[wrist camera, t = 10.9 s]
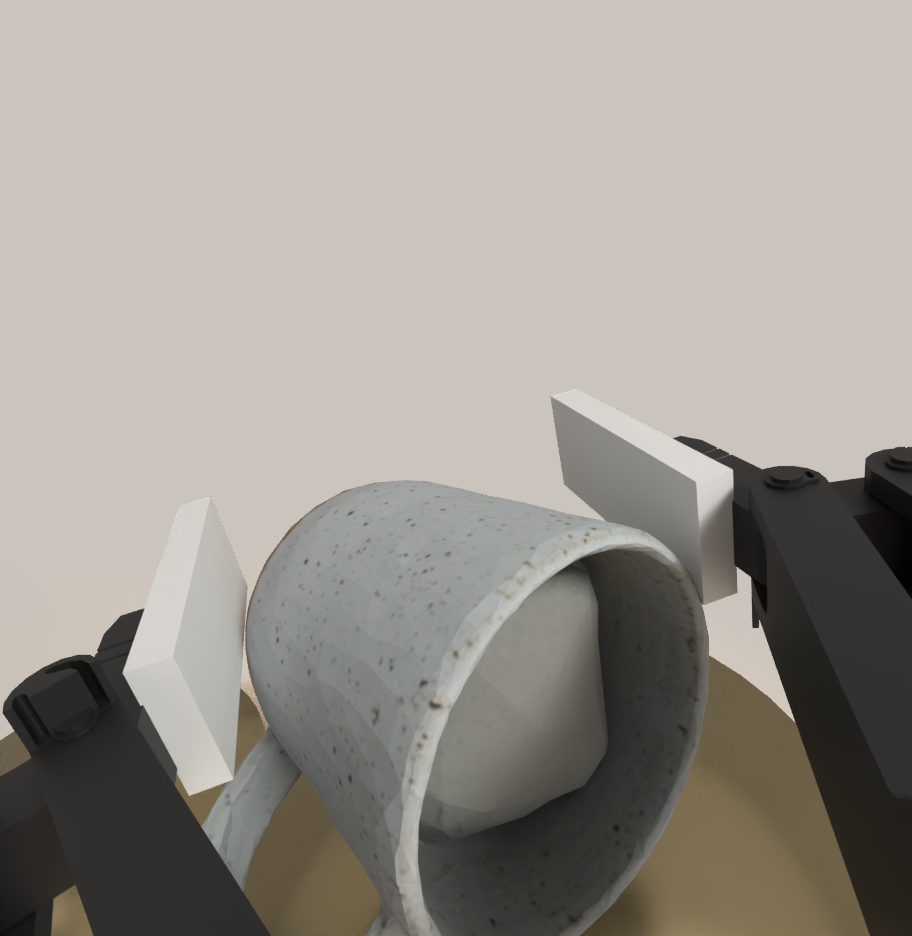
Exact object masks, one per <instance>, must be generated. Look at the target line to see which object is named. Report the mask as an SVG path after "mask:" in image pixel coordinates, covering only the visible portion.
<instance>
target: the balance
mask: <svg viewBox="0 0 912 936" xmlns="http://www.w3.org/2000/svg"><path fill="white" fill-rule="evenodd" d="M265 733H266V729H265V726H264V723H263V721H262V719H261V717H260V714H259V712H258V710H257V708H256V706H255V705H254V703H253V702H252V700H251V699H250V697H249V696H248V695H247V694H246V693H245V692H244V691H243V690H242V689H241V688H240V698H239V712H238V726H237V740H236V754H235V768H234V773H235V771H236V770H237V768H238V767H239V765H240V764H241V762H242V761H243V760H244V758H245V757H246V756H247V754H248V753H249V752H250V750H251V749H252V748H253V747H254V746H255V745H256V743H257V742H258V741H259V740H260V739H261V737H262V736H263V735H264V734H265ZM29 759H31V756H30V753H29V752H28V750H27V749H26V747H25V746H24V744H23V743H22V741H21V740H20V738H19V737H18V735H17V734H16V732H15V731H14V732H13V733H11V734H10V735H8V736H7V737H5V738H4V739H2V740H1V741H0V776H1V775H3V774H5V773H7V772H9V771H11V770H12V769H14V768H16V767H18V766H19V765H21V764H23V763H24V762H26V761H28V760H29ZM226 783H227V782H225V783H223V784H220V785H217V786H215V787H212V788H209V789H207V790H204V791H201V792H199V793H196V794H193V795H190V796H189V795H188V793H187V791H186V789H185V788H184V786H183V784H182V782H181V780H180V778H179V776H178V775H177V774H176V780H175V786H176V788H177V790H178V791H179V793H180V794H181V796H182V797H183V799H184V800H185V802H186V804H187V805H188V807H189V808H190V810H191V811H192V813H193V814H194V816H195V818H196V819H197V821H198V822H199V824H200V825H201V826H202V824H203V823H204V821H205V820H206V818H207V816H208V814H209V813H210V811H211V809H212V807H213V806H214V804H215V802H216V800H217V798H218V796H219V795H220V793H221V791H222V789H223V787H224V786H225V784H226ZM243 893H244V894H245V896H246V897H247V899H248V900H249V902H250V903H251V905H252V907H253V908H254V910H255V911H256V913H257V914H258V916H259V918H260V919H261V921H262V922H263V924H264V925H265V927H266V928H267V930H268V932H269V933H270V935H271V936H364V935H365V934H366V933H367V932H368V931H369V929H370V927H371V925H372V924H373V922H374V920H375V918H376V916H377V915H378V912H379V909H380V906H381V900H380V895H379V893H378V891H377V890H376V888H375V886H374V885H373V883H372V881H371V880H370V878H369V876H368V875H367V873H366V871H365V870H364V868H363V866H362V865H361V863H360V861H359V860H358V858H357V857H356V855H355V854H354V853H353V851H352V850H351V848H350V847H349V845H348V844H347V842H346V841H345V839H344V838H343V836H342V835H341V833H340V832H339V830H338V829H337V827H336V826H335V824H334V823H333V821H332V820H331V818H330V816H329V815H328V813H327V811H326V809H325V807H324V806H323V804H322V802H321V800H320V798H319V797H318V795H317V793H316V792H315V790H314V789H313V787H312V785H311V784H310V782H309V781H308V779H307V778H306V777H305V775H304V774H303V773H302V774H301V775H300V777H299V778H298V779H297V781H296V782H295V783H294V785H293V786H292V787H291V789H290V790H289V791H288V793H287V795H286V797H285V798H284V799H283V800H282V802H281V803H280V805H279V806H278V808H277V809H276V811H275V812H274V814H273V817H272V819H271V821H270V823H269V825H268V827H267V828H266V830H265V832H264V834H263V835H262V837H261V839H260V841H259V843H258V845H257V848H256V851H255V854H254V857H253V860H252V863H251V866H250V869H249V872H248V875H247V877H246V880H245V885H244V892H243ZM51 936H93V933H92V930H91V927H90V925H89V922H88V919H87V916H86V913H85V910H84V907H83V905H82V902H81V899H80V896H79V893H78V890H77V887H76V885H74V886H72V887H71V888H69V889H68V890H66V891H65V892H63V893H62V894H60V895H59V896H57V897H55V898H54V899H53V915H52V929H51ZM580 936H870V935H869V932H868V929H867V926H866V923H865V920H864V917H863V915H862V912H861V909H860V906H859V903H858V900H857V897H856V894H855V892H854V889H853V886H852V883H851V880H850V877H849V874H848V871H847V869H846V866H845V863H844V860H843V857H842V854H841V851H840V849H839V846H838V843H837V840H836V837H835V834H834V831H833V828H832V826H831V823H830V820H829V817H828V814H827V811H826V808H825V805H824V803H823V800H822V797H821V794H820V791H819V788H818V785H817V782H816V780H815V777H814V774H813V771H812V768H811V765H810V762H809V760H808V757H807V754H806V751H805V748H804V745H803V742H802V739H801V737H800V734H799V731H798V728H797V725H796V723H795V722H794V721H793V720H792V719H791V718H790V717H789V716H788V715H787V714H786V713H785V712H784V711H783V710H782V709H780V708H779V707H778V706H777V705H776V704H775V703H774V702H773V701H772V700H771V699H770V698H769V697H768V696H767V695H765V694H764V693H763V692H761V691H760V690H759V689H757V688H756V687H755V686H754V685H753V684H751V683H750V682H749V681H747V680H746V679H745V678H743V677H742V676H741V675H739V674H738V673H736V672H735V671H733V670H731V669H730V668H728V667H727V666H725V665H723V664H722V663H720V662H719V661H717V660H716V659H714V658H712V657H710V656H709V673H708V697H707V701H706V706H705V712H704V717H703V723H702V735H701V739H700V742H699V745H698V749H697V752H696V755H695V758H694V760H693V763H692V766H691V769H690V772H689V775H688V778H687V781H686V784H685V786H684V788H683V791H682V793H681V795H680V797H679V799H678V801H677V803H676V805H675V808H674V811H673V814H672V817H671V819H670V821H669V823H668V825H667V827H666V829H665V831H664V833H663V834H662V836H661V837H660V839H659V840H658V841H657V843H656V844H655V846H654V847H653V850H652V852H651V854H650V856H649V858H648V859H647V860H646V861H645V862H644V864H643V865H642V866H641V868H640V870H639V871H638V873H637V874H636V876H635V877H634V879H633V880H632V881H631V882H630V883H629V885H628V886H627V887H626V888H625V889H624V891H623V892H622V893H621V894H620V896H619V897H618V898H617V900H616V901H615V902H614V903H613V904H612V905H611V906H610V907H609V908H608V909H607V910H606V911H605V912H604V913H603V914H602V915H601V916H600V917H599V918H598V919H597V920H596V921H595V922H594V923H593V924H592V925H591V926H590V927H589V928H588V929H587V930H586V931H585V932H584V933H583V934H581V935H580Z"/></svg>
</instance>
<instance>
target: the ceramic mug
mask: <svg viewBox="0 0 912 936" xmlns="http://www.w3.org/2000/svg"><path fill="white" fill-rule="evenodd" d="M246 655H247V662H248V669H249V673H250V677H251V681H252V684H253V687H254V690H255V693H256V696H257V698H258V701H259V704H260V706H261V709H262V711H263V714H264V716H265V718H266V721H267V722H268V724H269V727H268V730H267V731H266V733H265V734H264V735H263V736H262V737H261V739H260V740H259V741H258V742H257V743H256V745H255V746H254V747H253V748H252V749H251V750H250V752H249V753H248V754H247V756H246V757H245V758H244V760H243V761H242V762H241V764H240V765H239V767H238V768H237V770H236V771H235V773H234V780H231V781H228V782H227V783H226V784H225V786H224V787H223V789H222V791H221V793H220V795H219V796H218V798H217V800H216V802H215V804H214V806H213V807H212V809H211V811H210V813H209V814H208V816H207V818H206V820H205V821H204V823H203V824H202V826H201V827H202V829H203V830H204V832H205V833H206V835H207V836H208V838H209V839H210V841H211V843H212V844H213V846H214V847H215V849H216V850H217V852H218V854H219V855H220V857H221V858H222V860H223V861H224V863H225V864H226V866H227V868H228V869H229V871H230V872H231V874H232V875H233V877H234V878H235V880H236V882H237V883H238V885H239V886H240V888H241V889H242V891H243V892H244V885H245V880H246V877H247V875H248V872H249V869H250V866H251V863H252V860H253V857H254V854H255V851H256V848H257V845H258V843H259V841H260V839H261V837H262V835H263V834H264V832H265V830H266V828H267V827H268V825H269V823H270V821H271V819H272V817H273V814H274V812H275V811H276V809H277V808H278V806H279V805H280V803H281V802H282V800H283V799H284V798H285V797H286V795H287V793H288V791H289V790H290V789H291V787H292V786H293V785H294V783H295V782H296V781H297V779H298V778H299V777H300V775H301V774H302V773H303V774H304V775H305V777H306V778H307V779H308V781H309V782H310V784H311V785H312V787H313V789H314V790H315V792H316V793H317V795H318V797H319V798H320V800H321V802H322V804H323V806H324V807H325V809H326V811H327V813H328V815H329V816H330V818H331V820H332V821H333V823H334V824H335V826H336V827H337V829H338V830H339V832H340V833H341V835H342V836H343V838H344V839H345V841H346V842H347V844H348V845H349V847H350V848H351V850H352V851H353V853H354V854H355V855H356V857H357V858H358V860H359V861H360V863H361V865H362V866H363V868H364V870H365V871H366V873H367V875H368V876H369V878H370V880H371V881H372V883H373V885H374V886H375V888H376V890H377V891H378V893H379V895H380V900H381V906H380V909H379V912H378V915H377V916H376V918H375V920H374V922H373V924H372V925H371V927H370V929H369V931H368V932H367V933H366V934H365V935H364V936H580V935H581V934H583V933H584V932H585V931H586V930H587V929H588V928H589V927H590V926H591V925H592V924H593V923H594V922H595V921H596V920H597V919H598V918H599V917H600V916H601V915H602V914H603V913H604V912H605V911H606V910H607V909H608V908H609V907H610V906H611V905H612V904H613V903H614V902H615V901H616V900H617V898H618V897H619V896H620V894H621V893H622V892H623V891H624V889H625V888H626V887H627V886H628V885H629V883H630V882H631V881H632V880H633V879H634V877H635V876H636V874H637V873H638V871H639V870H640V868H641V866H642V865H643V864H644V862H645V861H646V860H647V859H648V858H649V856H650V854H651V852H652V850H653V847H654V846H655V844H656V843H657V841H658V840H659V839H660V837H661V836H662V834H663V833H664V831H665V829H666V827H667V825H668V823H669V821H670V819H671V817H672V814H673V811H674V808H675V805H676V803H677V801H678V799H679V797H680V795H681V793H682V791H683V788H684V786H685V784H686V781H687V778H688V775H689V772H690V769H691V766H692V763H693V760H694V758H695V755H696V752H697V749H698V745H699V742H700V739H701V735H702V723H703V717H704V712H705V706H706V701H707V697H708V673H709V636H708V631H707V626H706V621H705V616H704V611H703V608H702V605H701V602H700V598H699V595H698V592H697V588H696V585H695V583H694V581H693V579H692V577H691V575H690V573H689V572H688V570H687V569H686V567H685V566H684V565H683V563H682V562H681V561H680V560H679V559H678V558H677V557H676V555H675V554H674V553H673V552H672V551H670V550H669V549H668V548H667V547H666V546H665V545H664V544H663V543H661V542H660V541H659V540H658V539H656V538H655V537H653V536H652V535H650V534H648V533H647V532H645V531H643V530H640V529H636V528H632V527H628V526H624V525H620V524H616V523H611V522H606V521H601V520H596V519H591V518H586V517H581V516H576V515H571V514H567V513H563V512H559V511H555V510H551V509H547V508H543V507H539V506H534V505H531V504H526V503H522V502H517V501H513V500H508V499H503V498H498V497H493V496H487V495H483V494H479V493H475V492H471V491H467V490H464V489H459V488H454V487H450V486H446V485H441V484H436V483H431V482H425V481H393V482H380V483H373V484H369V485H365V486H361V487H356V488H353V489H349V490H346V491H343V492H341V493H340V494H338V495H336V496H334V497H332V498H330V499H329V500H327V501H325V502H324V503H321V504H320V505H318V506H316V507H315V508H313V509H312V510H311V511H310V512H309V513H308V514H306V515H305V516H304V517H303V518H301V519H300V520H299V521H298V522H297V523H296V524H294V525H293V526H292V527H291V528H290V529H289V530H288V532H287V533H286V534H285V536H284V537H283V539H282V540H281V541H280V543H279V544H278V545H277V547H276V548H275V549H274V551H273V552H272V554H271V555H270V556H269V558H268V559H267V561H266V563H265V565H264V567H263V569H262V571H261V573H260V576H259V578H258V580H257V583H256V585H255V588H254V591H253V593H252V596H251V599H250V601H249V607H248V612H247V621H246Z"/></svg>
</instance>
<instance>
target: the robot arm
mask: <svg viewBox="0 0 912 936" xmlns="http://www.w3.org/2000/svg"><path fill="white" fill-rule="evenodd" d="M551 402H552V408H553V415H554V422H555V428H556V434H557V441H558V447H559V454H560V460H561V466H562V473H563V480H564V485H566V486H567V487H568V488H569V489H570V490H571V491H573V492H574V493H575V494H576V495H577V496H578V497H579V498H581V499H582V500H583V501H584V502H585V503H586V504H588V505H589V506H590V507H591V508H592V509H593V510H595V511H596V512H597V513H598V514H599V515H600V516H601V517H603V518H604V519H605V520H606V521H607V522H611V523H616V524H620V525H624V526H628V527H632V528H636V529H640V530H643V531H645V532H647V533H648V534H650V535H652V536H653V537H655V538H656V539H658V540H659V541H660V542H661V543H663V544H664V545H665V546H666V547H667V548H668V549H669V550H670V551H672V552H673V553H674V554H675V555H676V557H677V558H678V559H679V560H680V561H681V562H682V563H683V565H684V566H685V567H686V569H687V570H688V572H689V573H690V575H691V577H692V579H693V581H694V583H695V585H696V588H697V592H698V595H699V598H700V602H701V603H702V604H703V605H705V604H708V603H711V602H713V601H716V600H719V599H722V598H724V597H727V596H730V595H733V594H735V593H737V569H736V566H737V567H738V568H739V569H741V570H742V571H744V572H745V573H746V574H748V575H749V576H750V577H751V584H752V624H753V625H752V626H753V628H759V620H760V622H761V625H762V627H763V630H764V633H765V636H766V639H767V642H768V645H769V647H770V650H771V653H772V656H773V659H774V662H775V665H776V668H777V670H778V673H779V676H780V679H781V682H782V685H783V688H784V690H785V693H786V696H787V699H788V702H789V705H790V708H791V710H792V713H793V716H794V719H795V722H796V725H797V728H798V731H799V734H800V737H801V739H802V742H803V745H804V748H805V751H806V754H807V757H808V760H809V762H810V765H811V768H812V771H813V774H814V777H815V780H816V782H817V785H818V788H819V791H820V794H821V797H822V800H823V803H824V805H825V808H826V811H827V814H828V817H829V820H830V823H831V826H832V828H833V831H834V834H835V837H836V840H837V843H838V846H839V849H840V851H841V854H842V857H843V860H844V863H845V866H846V869H847V871H848V874H849V877H850V880H851V883H852V886H853V889H854V892H855V894H856V897H857V900H858V903H859V906H860V909H861V912H862V915H863V917H864V920H865V923H866V926H867V929H868V932H869V935H870V936H912V447H907V448H905V447H897V448H894V449H886V450H882V451H878V452H875V453H872V454H871V455H870V456H868V457H867V458H866V463H865V477H864V478H857V479H850V480H844V481H836V482H828V481H827V479H826V478H825V477H824V476H823V475H821V474H820V473H819V472H816V471H814V470H811V469H808V468H802V467H796V466H777V467H772V468H766V469H763V470H762V469H760V468H758V467H756V466H754V465H752V464H750V463H748V462H746V461H744V460H742V459H739V458H738V457H735V456H733V455H729V453H727V452H725V451H723V450H721V449H717V447H715V446H713V445H711V444H709V443H707V442H704V441H702V440H699V439H693V438H688V437H683V436H679V437H676V438H673V439H672V438H671V437H669V436H667V435H665V434H663V433H661V432H659V431H657V430H655V429H653V428H651V427H649V426H647V425H645V424H643V423H641V422H639V421H637V420H635V419H634V418H632V417H630V416H628V415H626V414H624V413H622V412H620V411H618V410H616V409H614V408H612V407H610V406H608V405H607V404H605V403H603V402H601V401H599V400H597V399H595V398H593V397H591V396H589V395H587V394H585V393H583V392H581V391H579V390H577V389H573V390H569V391H566V392H563V393H560V394H556V395H552V396H551ZM246 599H247V583H246V581H245V579H244V576H243V574H242V571H241V569H240V567H239V564H238V561H237V559H236V557H235V554H234V552H233V549H232V547H231V544H230V542H229V540H228V537H227V535H226V532H225V530H224V527H223V525H222V522H221V520H220V518H219V515H218V513H217V510H216V508H215V505H214V503H213V500H212V498H211V496H210V497H206V498H203V499H200V500H196V501H193V502H189V503H186V504H183V505H180V506H179V509H178V512H177V515H176V518H175V521H174V524H173V527H172V530H171V533H170V536H169V539H168V542H167V544H166V548H165V550H164V553H163V556H162V559H161V562H160V565H159V568H158V571H157V574H156V577H155V580H154V583H153V586H152V588H151V591H150V594H149V597H148V600H147V603H146V606H145V608H144V609H141V610H138V611H134V612H131V613H128V614H125V615H122V616H120V617H119V618H118V619H117V621H116V622H115V623H114V624H113V625H112V626H111V627H110V628H109V629H108V630H107V631H106V632H105V634H104V636H103V638H102V641H101V643H100V646H99V648H98V650H97V651H98V653H97V654H96V655H95V657H93V656H91V655H76V656H72V657H68V658H64V659H61V660H59V661H56V662H54V663H52V664H50V665H48V666H45V667H43V668H42V669H40V670H39V671H37V672H36V673H34V674H33V675H31V676H29V677H28V678H26V679H25V680H24V681H23V682H22V683H21V684H19V685H18V686H17V687H16V688H15V689H14V690H13V691H12V692H11V693H10V695H9V696H8V698H7V699H6V701H5V702H4V706H3V714H4V715H5V717H6V718H7V720H8V722H9V723H10V725H11V726H12V728H13V729H14V731H15V732H16V734H17V735H18V737H19V738H20V740H21V741H22V743H23V744H24V746H25V747H26V749H27V750H28V752H29V753H30V756H31V759H29V760H28V761H26V762H24V763H23V764H21V765H19V766H18V767H16V768H14V769H12V770H11V771H9V772H7V773H5V774H3V775H1V776H0V936H51V929H52V915H53V899H54V898H55V897H57V896H59V895H60V894H62V893H63V892H65V891H66V890H68V889H69V888H71V887H72V886H74V885H76V887H77V890H78V893H79V896H80V899H81V902H82V905H83V907H84V910H85V913H86V916H87V919H88V922H89V925H90V927H91V930H92V933H93V936H271V935H270V933H269V932H268V930H267V928H266V927H265V925H264V924H263V922H262V921H261V919H260V918H259V916H258V914H257V913H256V911H255V910H254V908H253V907H252V905H251V903H250V902H249V900H248V899H247V897H246V896H245V894H244V893H243V891H242V889H241V888H240V886H239V885H238V883H237V882H236V880H235V878H234V877H233V875H232V874H231V872H230V871H229V869H228V868H227V866H226V864H225V863H224V861H223V860H222V858H221V857H220V855H219V854H218V852H217V850H216V849H215V847H214V846H213V844H212V843H211V841H210V839H209V838H208V836H207V835H206V833H205V832H204V830H203V829H202V827H201V825H200V824H199V822H198V821H197V819H196V818H195V816H194V814H193V813H192V811H191V810H190V808H189V807H188V805H187V804H186V802H185V800H184V799H183V797H182V796H181V794H180V793H179V791H178V790H177V788H176V786H175V780H176V774H177V775H178V776H179V778H180V780H181V782H182V784H183V786H184V788H185V789H186V791H187V793H188V795H189V796H190V795H193V794H196V793H199V792H201V791H204V790H207V789H209V788H212V787H215V786H217V785H220V784H223V783H225V782H228V781H231V780H234V768H235V754H236V740H237V726H238V712H239V698H240V684H241V670H242V655H243V641H244V628H245V614H246Z"/></svg>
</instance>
